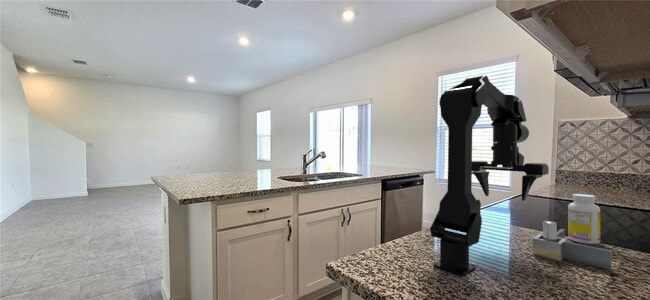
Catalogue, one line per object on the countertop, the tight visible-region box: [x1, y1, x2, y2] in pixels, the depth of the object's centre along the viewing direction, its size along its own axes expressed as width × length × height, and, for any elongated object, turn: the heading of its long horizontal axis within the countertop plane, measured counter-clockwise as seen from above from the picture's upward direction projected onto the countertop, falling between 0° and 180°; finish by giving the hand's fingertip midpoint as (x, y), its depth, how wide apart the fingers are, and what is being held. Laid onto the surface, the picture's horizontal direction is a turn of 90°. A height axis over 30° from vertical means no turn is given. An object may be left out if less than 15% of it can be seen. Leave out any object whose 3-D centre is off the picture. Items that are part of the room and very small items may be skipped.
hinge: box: [532, 228, 613, 271], centre depth 69 cm, size 15×13×4 cm
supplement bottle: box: [567, 193, 601, 245], centre depth 79 cm, size 7×7×13 cm
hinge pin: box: [542, 220, 558, 242], centre depth 69 cm, size 3×3×8 cm
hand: (504, 198), depth 79 cm, fingers open, 9 cm apart
